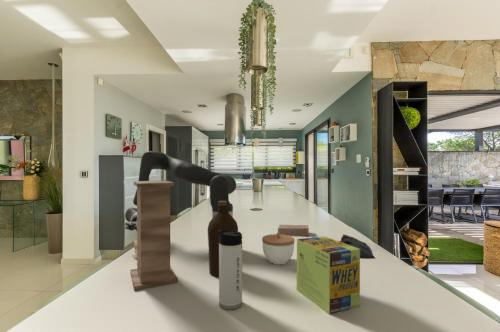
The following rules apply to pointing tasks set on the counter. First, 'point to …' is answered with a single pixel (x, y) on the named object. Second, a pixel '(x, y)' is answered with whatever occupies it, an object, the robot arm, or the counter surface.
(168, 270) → the stand
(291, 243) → the lidded bowl
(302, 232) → the brick
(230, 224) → the olive oil
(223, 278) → the travel mug
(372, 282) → the counter surface
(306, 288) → the protein box
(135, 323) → the counter surface
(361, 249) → the dark slate chunk
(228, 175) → the robot arm
